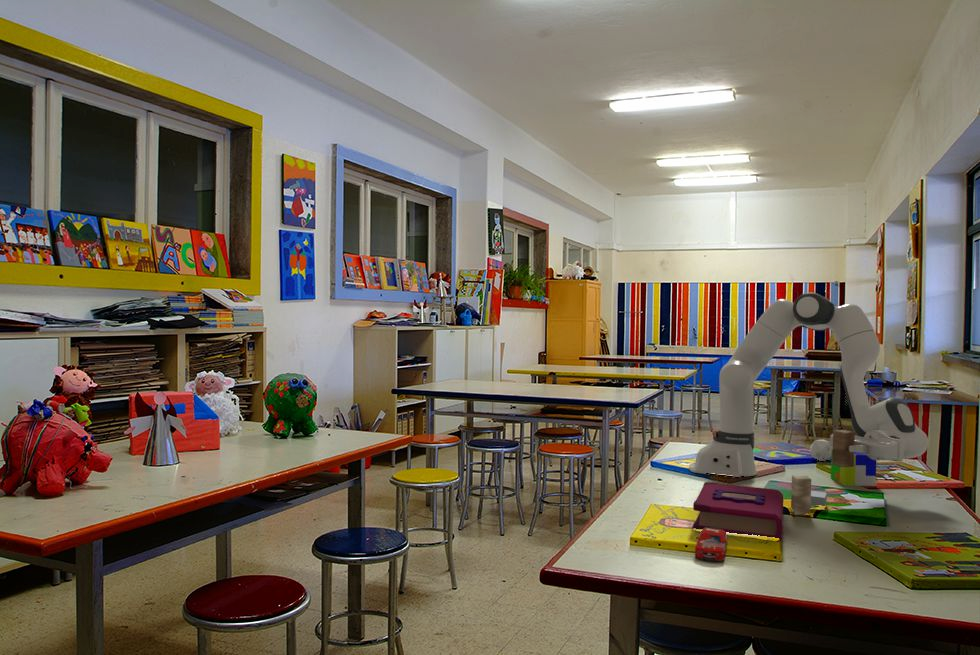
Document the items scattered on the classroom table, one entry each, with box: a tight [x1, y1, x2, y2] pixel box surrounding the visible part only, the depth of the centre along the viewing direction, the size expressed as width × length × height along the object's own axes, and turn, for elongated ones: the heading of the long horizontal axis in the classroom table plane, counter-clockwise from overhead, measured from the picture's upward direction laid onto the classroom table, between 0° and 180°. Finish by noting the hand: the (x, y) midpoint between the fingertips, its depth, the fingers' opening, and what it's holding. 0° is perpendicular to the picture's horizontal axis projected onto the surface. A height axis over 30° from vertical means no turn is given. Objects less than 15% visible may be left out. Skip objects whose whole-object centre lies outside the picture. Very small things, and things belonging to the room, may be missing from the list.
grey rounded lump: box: [809, 439, 833, 462], centre depth 276 cm, size 8×9×10 cm
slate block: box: [811, 490, 828, 506], centre depth 208 cm, size 7×7×4 cm
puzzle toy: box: [830, 449, 877, 487], centre depth 241 cm, size 10×10×10 cm
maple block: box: [790, 474, 812, 516], centre depth 201 cm, size 4×4×10 cm
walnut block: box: [832, 429, 856, 467], centre depth 211 cm, size 4×4×10 cm
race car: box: [694, 527, 728, 563], centre depth 167 cm, size 16×7×5 cm, turn 157°
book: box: [692, 481, 784, 540], centre depth 191 cm, size 21×28×8 cm
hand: (841, 446), depth 211 cm, fingers closed on walnut block, 4 cm apart
